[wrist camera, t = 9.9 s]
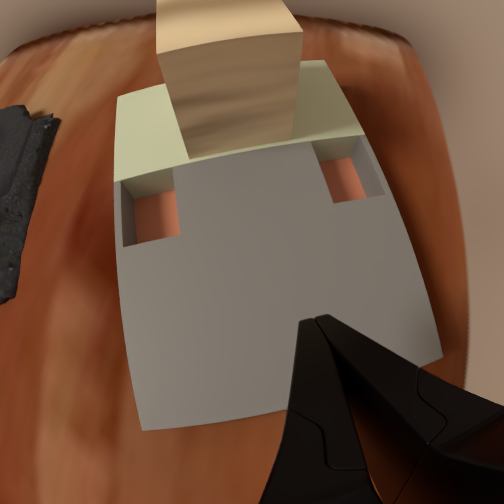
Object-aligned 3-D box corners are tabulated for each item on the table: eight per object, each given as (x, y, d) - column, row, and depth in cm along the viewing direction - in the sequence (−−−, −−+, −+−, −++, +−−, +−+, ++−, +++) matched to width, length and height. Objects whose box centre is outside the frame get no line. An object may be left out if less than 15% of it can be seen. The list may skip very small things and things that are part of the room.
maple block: (291, 140, 21) (303, 31, 13) (189, 159, 21) (156, 54, 12) (263, 70, 24) (263, -23, 15) (179, 85, 24) (156, -6, 15)
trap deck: (418, 359, 20) (443, 357, 16) (160, 420, 19) (142, 430, 15) (319, 87, 28) (323, 59, 24) (129, 122, 27) (117, 96, 24)
